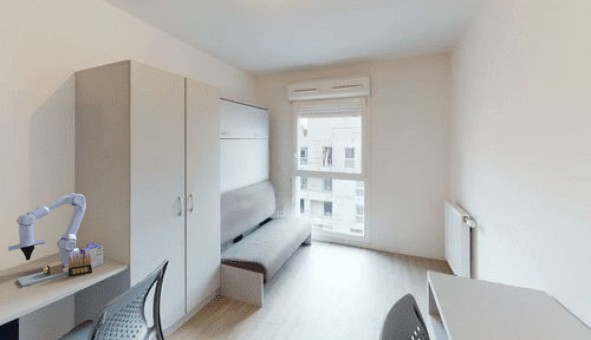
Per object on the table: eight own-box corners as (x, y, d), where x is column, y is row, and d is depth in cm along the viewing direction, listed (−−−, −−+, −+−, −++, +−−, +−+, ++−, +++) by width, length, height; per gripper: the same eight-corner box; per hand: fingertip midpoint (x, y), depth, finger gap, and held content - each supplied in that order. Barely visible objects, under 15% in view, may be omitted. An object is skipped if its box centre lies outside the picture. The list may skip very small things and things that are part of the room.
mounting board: (60, 269, 162) (59, 259, 161) (66, 274, 155) (66, 264, 154) (17, 280, 147) (16, 269, 147) (22, 287, 140) (22, 276, 140)
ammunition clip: (68, 277, 152) (67, 256, 152) (68, 275, 154) (68, 255, 153) (91, 272, 158) (91, 252, 157) (92, 271, 160) (91, 251, 159)
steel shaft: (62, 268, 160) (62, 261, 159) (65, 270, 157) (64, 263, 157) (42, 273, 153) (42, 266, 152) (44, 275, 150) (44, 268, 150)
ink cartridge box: (98, 262, 172) (97, 240, 171) (103, 264, 170) (103, 241, 169) (80, 268, 163) (79, 245, 162) (86, 270, 161) (85, 246, 160)
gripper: (9, 240, 143) (10, 265, 144) (46, 234, 155) (47, 257, 156) (6, 237, 147) (8, 262, 148) (42, 231, 159) (43, 254, 160)
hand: (28, 259), depth 152 cm, fingers closed
